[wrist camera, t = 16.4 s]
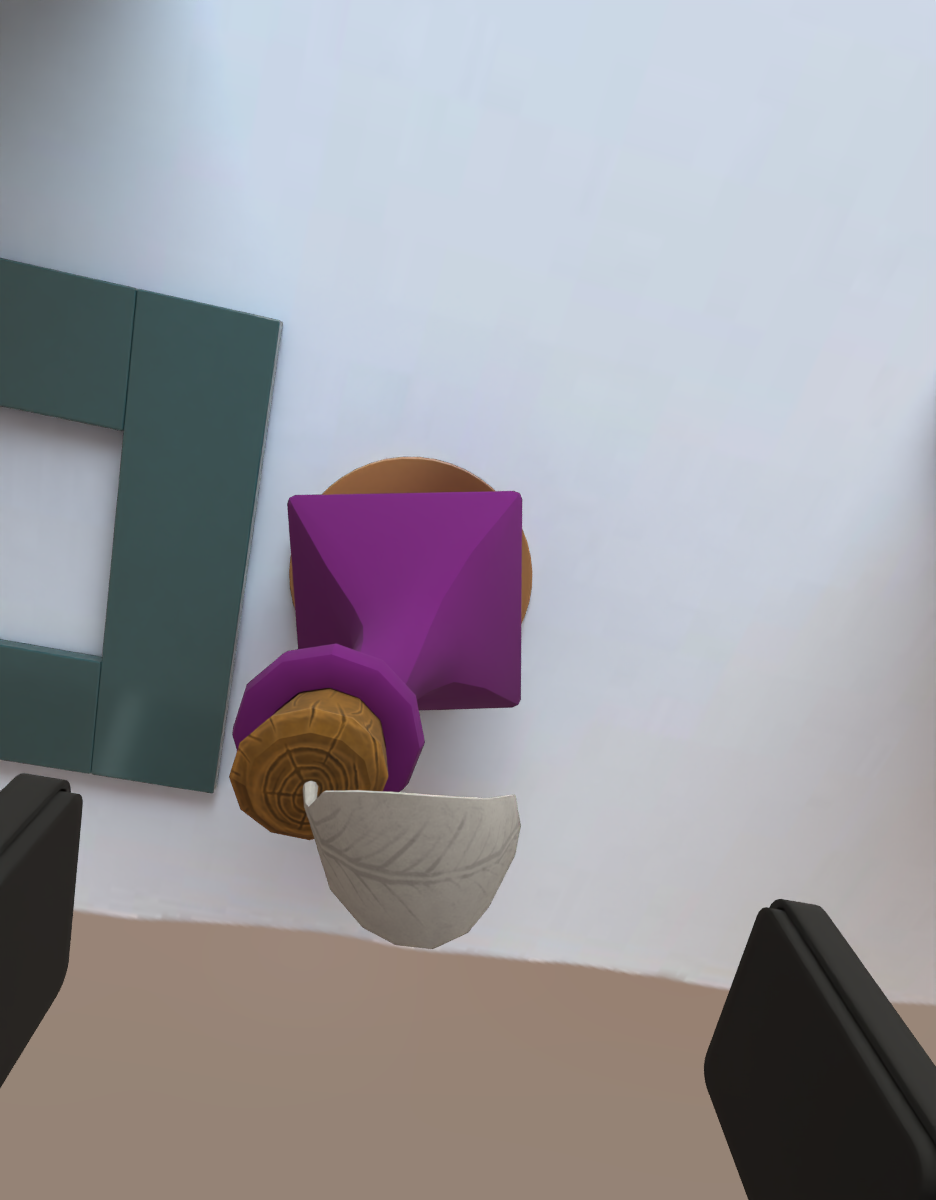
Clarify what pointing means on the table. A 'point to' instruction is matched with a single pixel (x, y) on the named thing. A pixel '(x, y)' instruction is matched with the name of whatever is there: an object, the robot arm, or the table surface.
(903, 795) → the table surface
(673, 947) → the table surface
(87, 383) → the green square frame
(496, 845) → the purple corked potion bottle
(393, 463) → the coaster
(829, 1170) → the robot arm
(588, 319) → the table surface
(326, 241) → the table surface
